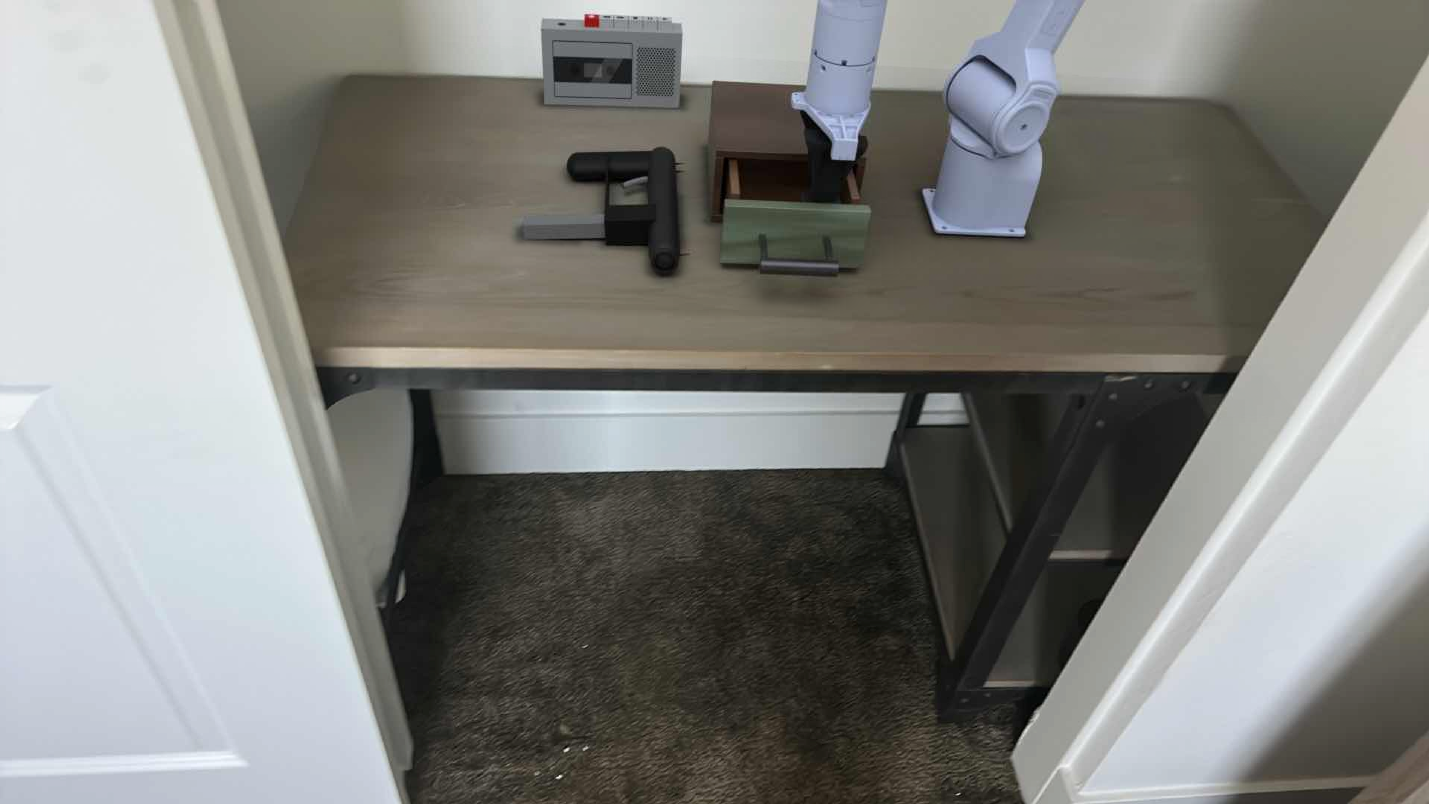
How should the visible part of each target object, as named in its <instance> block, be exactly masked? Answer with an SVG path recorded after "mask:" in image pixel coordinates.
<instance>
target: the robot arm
mask: <svg viewBox="0 0 1429 804" xmlns="http://www.w3.org/2000/svg"><path fill="white" fill-rule="evenodd" d="M1085 1H1086V0H1016V1H1015V3H1014V5H1013V7H1012V8H1011V11H1010V12H1009V14H1008V16H1007V18H1006V19H1005V22H1004V24H1003V25H1002V27H1001V29H1000V30H998V31H996V32H994V33H991V34H989V35H985V36H982V37H980V38H978V39H976V40H974V42H973V44H972V46H971V47H970V49H969V51H968V52H967V54H966V56H964V58H962V60H961V61H960V62H959V63H958V64H957V65H956V66H955V67H954V68H953V69H952V70H951V72H950V73H949V74H948V76H947V78H946V80H945V82H944V85H943V88H942V94H941V99H942V103H943V106H944V108H945V109H946V110H947V112H949V115H948V119H947V125H948V126H949V132H948V136H947V140H946V145H945V149H944V153H943V157H942V161H941V166H940V169H939V172H938V173H939V174H938V178H937V182H936V185H935V188H923V189H922V191H921V195H922V198H923V201H924V204H925V207H926V210H927V214H928V216H929V220H930V222H931V225H932V229H933V231H934V232H935V233H936V234H945V235H946V234H947V235H969V236H993V237H1016V238H1021V237H1023V238H1024V237H1025V236H1026V233H1027V232H1026V229H1025V227H1026V225H1027V221H1028V218H1029V214H1030V212H1031V208H1032V205H1033V202H1034V200H1035V196H1036V193H1037V190H1038V187H1039V184H1040V180H1041V175H1042V169H1043V168H1042V167H1043V151H1042V146H1041V144H1040V142H1039V139H1040V138H1041V137H1042V136H1043V134H1044V132H1045V131H1046V129H1047V126H1048V123H1049V121H1050V117H1051V111H1052V108H1053V105H1054V102H1055V100H1056V99H1057V97H1058V95H1059V93H1060V92H1061V85H1060V84H1061V83H1060V80H1059V76H1058V71H1057V68H1056V63H1055V59H1054V58H1055V57H1054V56H1055V54H1056V52H1057V50H1058V49H1059V47H1060V45H1061V43H1062V42H1063V40H1064V38H1065V36H1066V35H1067V33H1068V31H1069V30H1070V28H1071V26H1072V24H1073V22H1074V21H1075V19H1076V17H1077V16H1078V14H1079V12H1080V10H1081V9H1082V7H1083V5H1084V3H1085ZM888 2H889V0H817V2H816V3H817V4H816V11H815V19H814V25H813V31H812V39H811V48H810V49H811V50H810V56H809V63H808V70H807V78H806V90H805V91H804V92H794V93H792V95H791V105H792V107H793V108H794V109H797V110H800V114H801V117H802V119H803V122H804V125H805V129H804V137H805V142H806V145H807V148H808V169H809V176H810V180H812V192H813V198H814V201H815V202H833V203H834V202H836V200H837V198H838V196H839V194H840V192H841V190H842V188H843V185H844V183H845V181H846V178H847V176H848V174H849V172H850V171H851V169H852V167H853V166H854V165H855V163H856V162H857V161H858V160H859V158H860V157H861V156H862V155H863V154H864V153H865V152H866V153H867V150H868V148H869V140H868V136H867V135H861V136H860V135H859V133H861V131H862V129H863V126H864V125H865V123H866V121H867V119H868V117H869V115H870V112H871V107H872V101H871V99H870V98H871V93H872V88H873V83H874V77H875V72H876V67H877V61H878V55H879V51H880V50H879V49H880V44H881V39H882V34H883V28H884V22H885V17H886V10H887V6H888Z"/></svg>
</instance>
